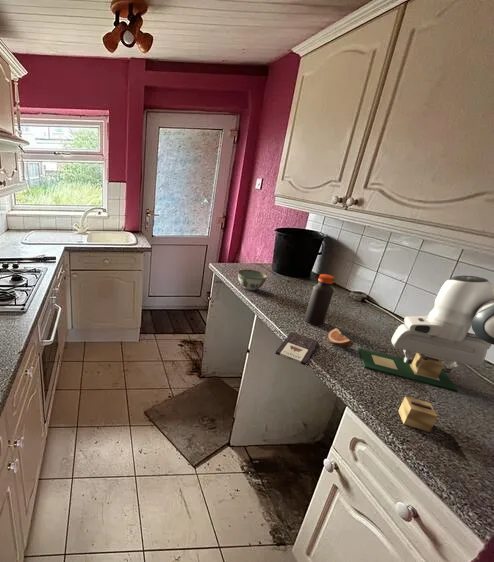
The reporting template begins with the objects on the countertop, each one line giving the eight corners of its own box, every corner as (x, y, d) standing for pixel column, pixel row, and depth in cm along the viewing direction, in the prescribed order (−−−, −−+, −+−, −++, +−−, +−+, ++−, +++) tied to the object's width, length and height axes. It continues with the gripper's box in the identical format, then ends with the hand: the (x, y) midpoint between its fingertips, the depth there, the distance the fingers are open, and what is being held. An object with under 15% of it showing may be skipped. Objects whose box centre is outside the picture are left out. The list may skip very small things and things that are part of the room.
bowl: (259, 284, 164) (262, 270, 161) (267, 294, 152) (271, 279, 149) (232, 282, 165) (235, 268, 162) (239, 292, 153) (242, 277, 150)
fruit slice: (355, 353, 106) (359, 340, 105) (335, 351, 107) (339, 339, 105) (341, 340, 114) (345, 328, 112) (322, 338, 115) (326, 326, 113)
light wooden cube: (422, 418, 80) (431, 402, 78) (429, 432, 75) (438, 415, 74) (398, 411, 82) (405, 395, 80) (403, 424, 78) (411, 407, 76)
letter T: (431, 369, 98) (438, 355, 96) (437, 378, 94) (444, 364, 92) (410, 364, 100) (417, 351, 98) (415, 373, 96) (422, 359, 94)
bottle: (326, 323, 126) (340, 277, 119) (318, 327, 122) (333, 280, 115) (308, 316, 131) (321, 272, 124) (301, 320, 127) (313, 275, 120)
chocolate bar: (318, 341, 111) (305, 362, 98) (317, 343, 111) (305, 365, 99) (291, 331, 116) (276, 351, 104) (290, 333, 117) (275, 353, 104)
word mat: (441, 369, 99) (442, 367, 99) (457, 392, 90) (458, 390, 89) (358, 349, 109) (358, 347, 109) (364, 367, 99) (365, 365, 99)
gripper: (489, 332, 89) (467, 372, 94) (398, 315, 98) (383, 352, 103) (501, 343, 84) (477, 384, 89) (404, 323, 93) (388, 362, 98)
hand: (426, 367), depth 96 cm, fingers open, 8 cm apart
